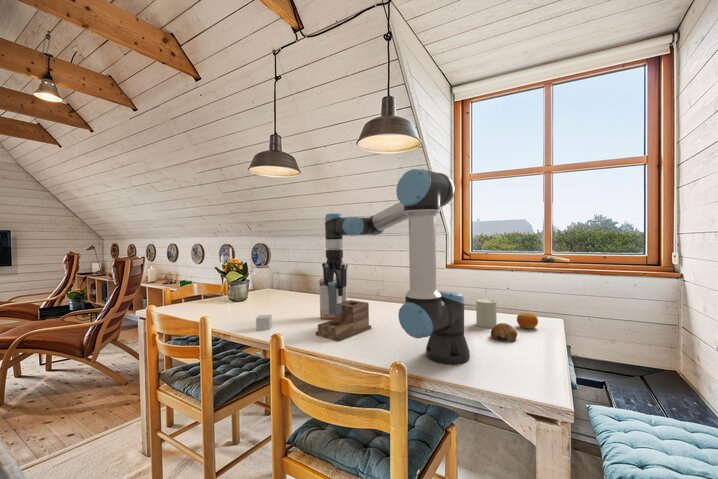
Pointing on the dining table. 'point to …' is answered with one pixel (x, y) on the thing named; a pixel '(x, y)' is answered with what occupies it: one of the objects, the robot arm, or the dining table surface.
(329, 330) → the wooden desk organizer
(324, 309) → the cracker box
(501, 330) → the bread roll
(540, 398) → the dining table surface
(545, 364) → the dining table surface
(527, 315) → the fruit
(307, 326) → the dining table surface
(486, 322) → the can
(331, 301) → the plug
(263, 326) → the gray cube
